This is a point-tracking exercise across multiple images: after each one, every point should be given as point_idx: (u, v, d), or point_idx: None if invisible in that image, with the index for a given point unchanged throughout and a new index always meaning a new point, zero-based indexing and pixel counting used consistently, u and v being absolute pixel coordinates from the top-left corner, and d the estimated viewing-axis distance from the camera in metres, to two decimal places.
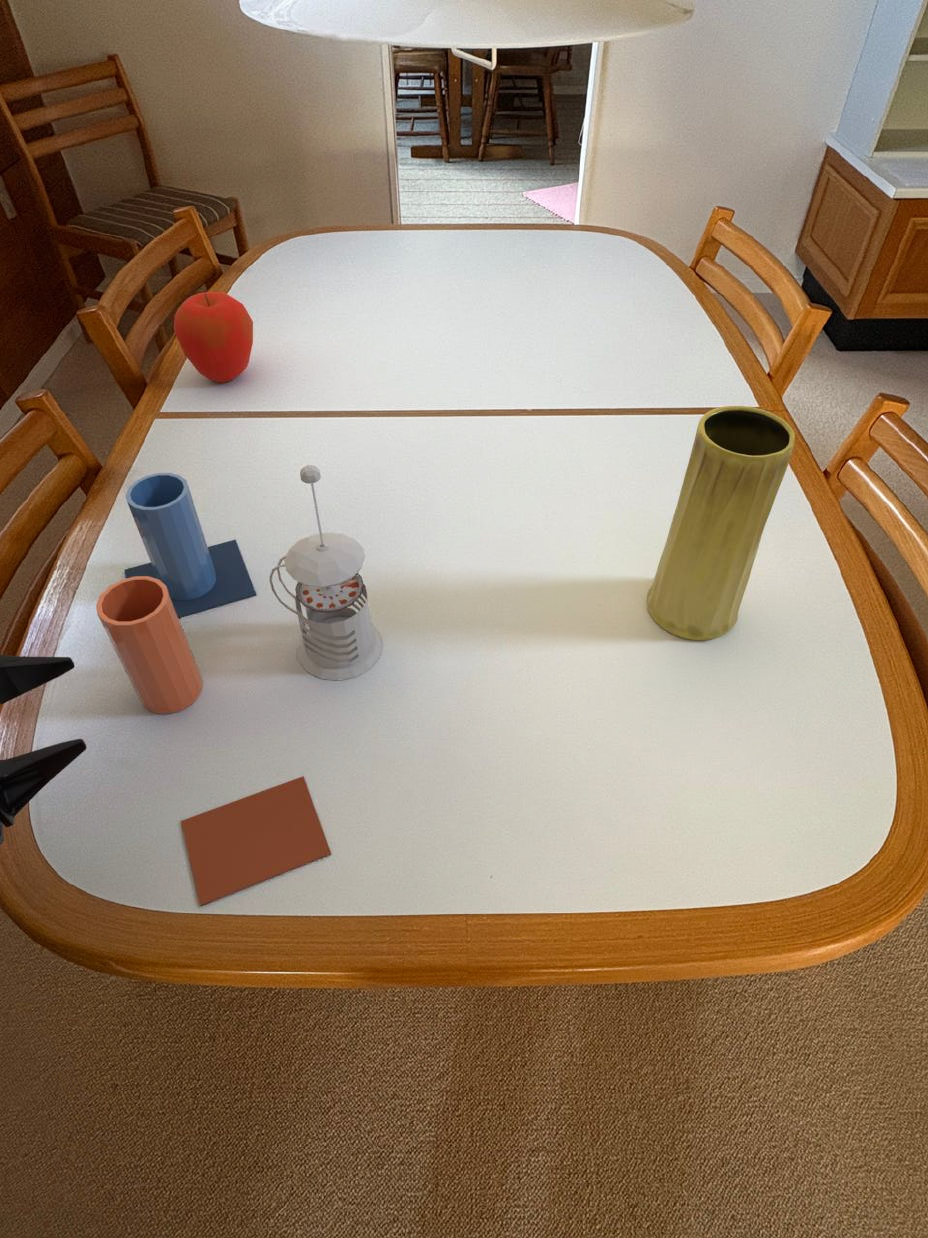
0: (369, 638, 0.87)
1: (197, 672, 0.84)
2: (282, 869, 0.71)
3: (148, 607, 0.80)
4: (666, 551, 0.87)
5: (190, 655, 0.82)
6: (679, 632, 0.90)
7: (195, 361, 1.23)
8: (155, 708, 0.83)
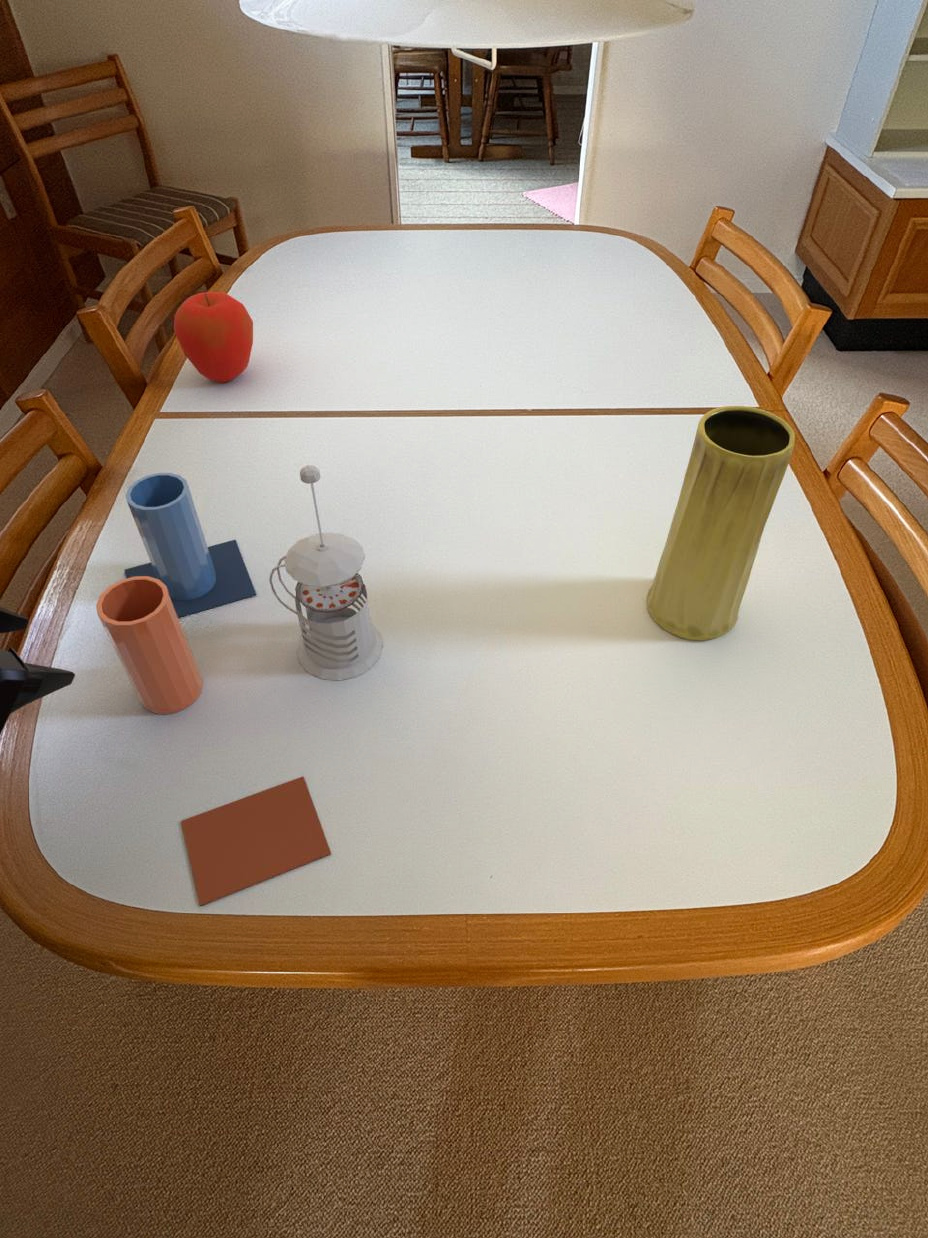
0: (369, 638, 0.87)
1: (197, 672, 0.84)
2: (282, 869, 0.71)
3: (148, 607, 0.80)
4: (666, 551, 0.87)
5: (190, 655, 0.82)
6: (679, 632, 0.90)
7: (195, 361, 1.23)
8: (155, 708, 0.83)
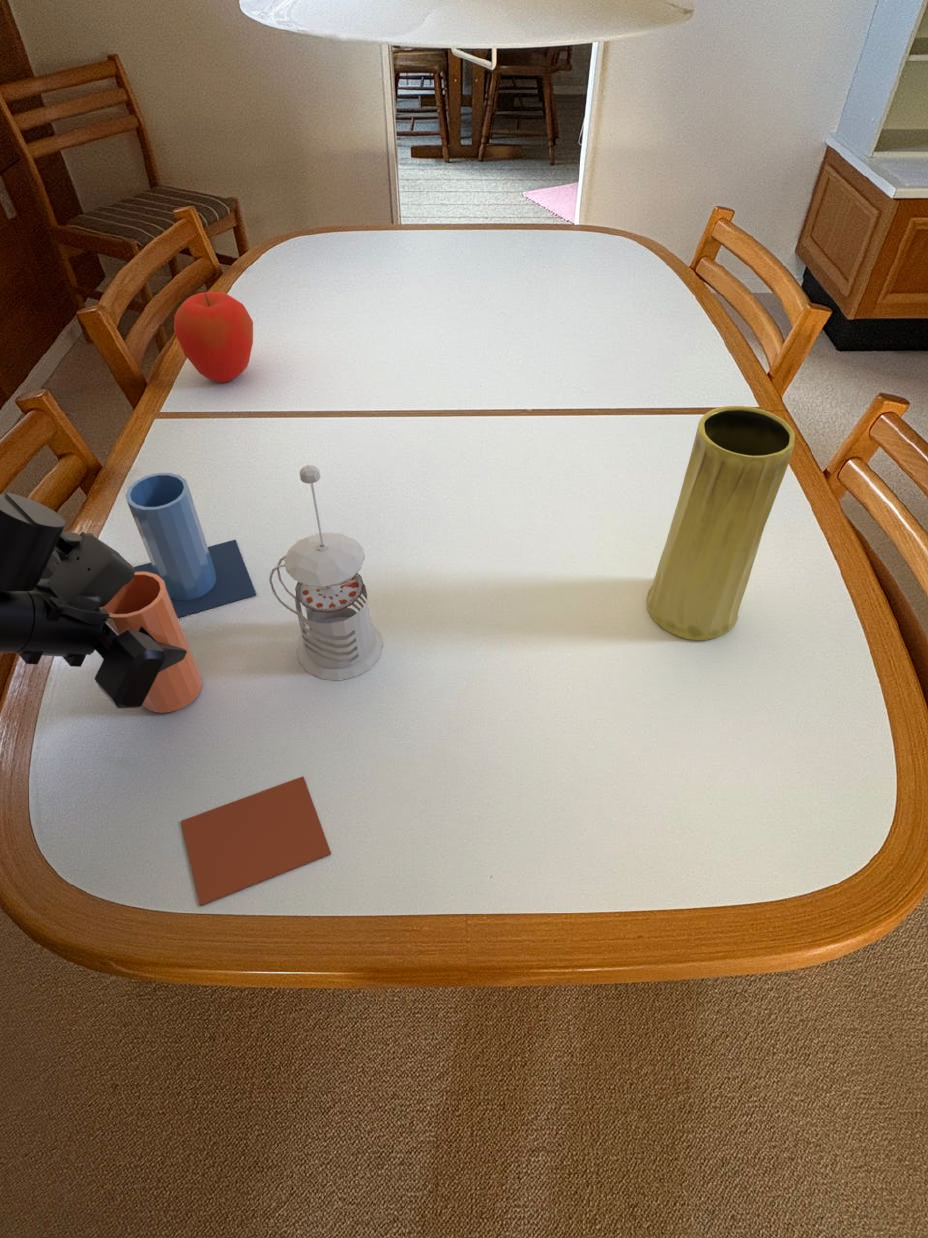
0: (369, 638, 0.87)
1: (196, 671, 0.84)
2: (282, 869, 0.71)
3: (147, 604, 0.80)
4: (666, 551, 0.87)
5: (188, 652, 0.82)
6: (679, 632, 0.90)
7: (195, 361, 1.23)
8: (153, 706, 0.82)
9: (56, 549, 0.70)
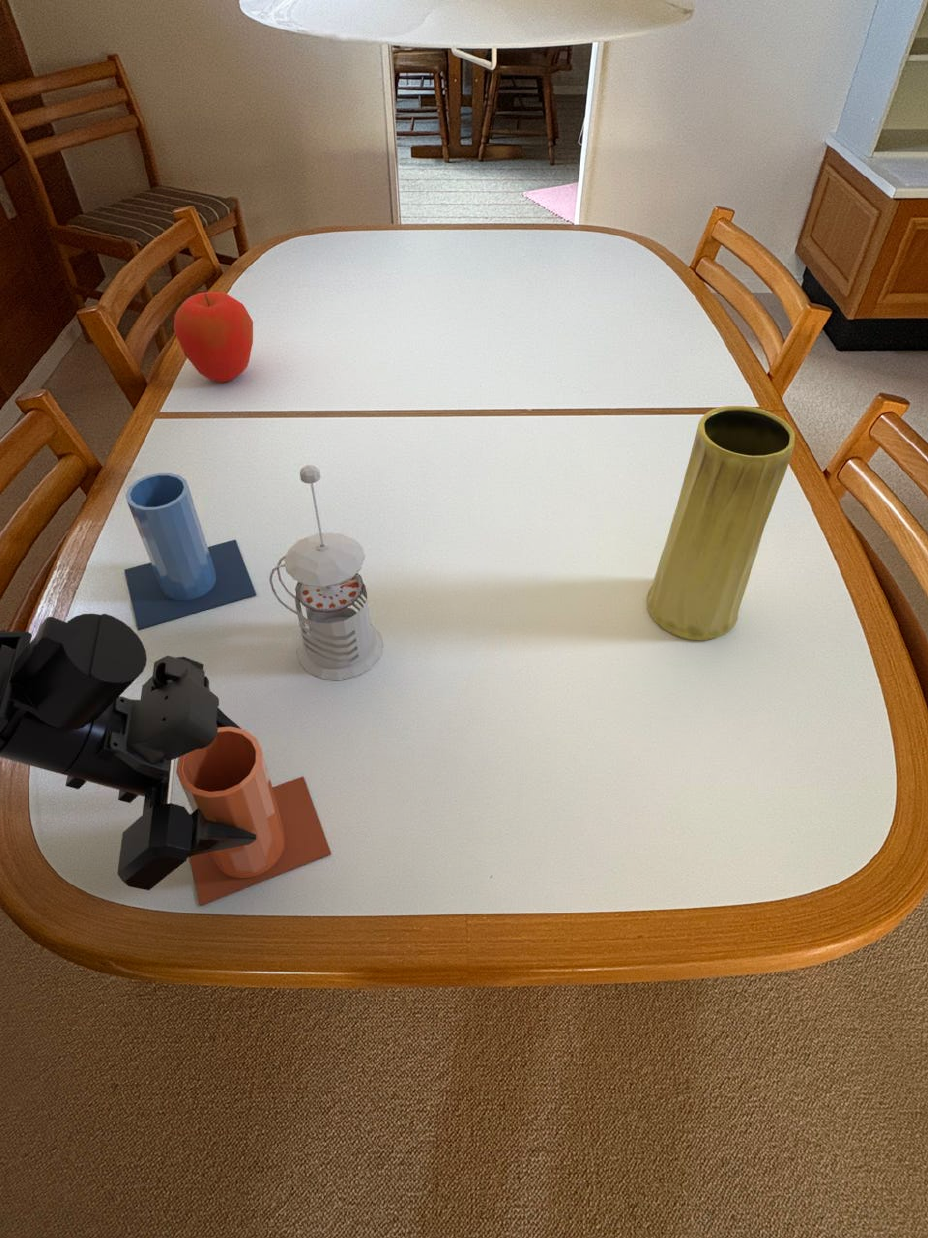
0: (369, 638, 0.87)
1: (273, 849, 0.70)
2: (282, 869, 0.71)
3: (251, 763, 0.67)
4: (666, 551, 0.87)
5: (267, 834, 0.68)
6: (679, 632, 0.90)
7: (195, 361, 1.23)
8: (214, 861, 0.71)
9: (153, 676, 0.59)
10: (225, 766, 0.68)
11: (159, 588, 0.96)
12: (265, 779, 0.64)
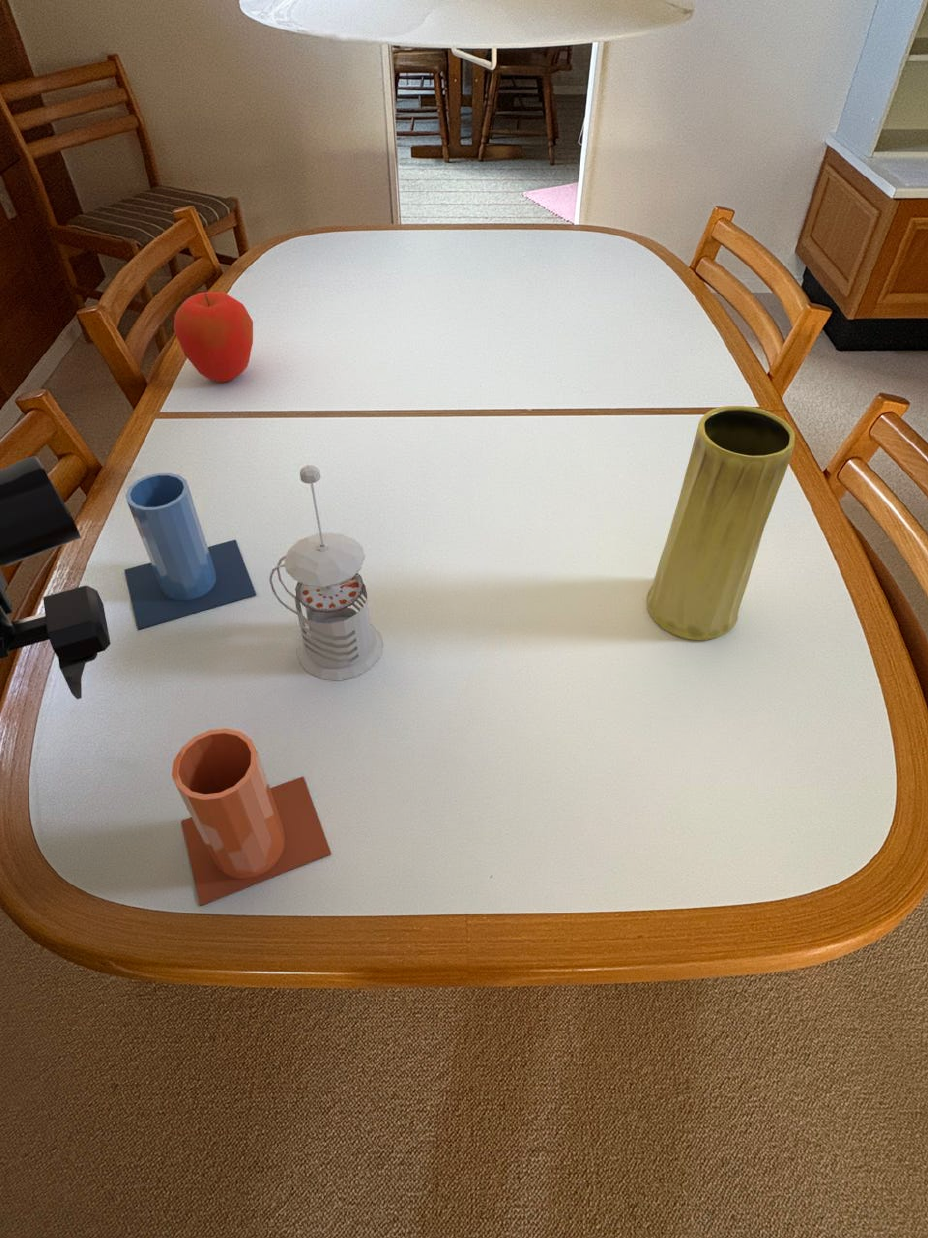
0: (369, 638, 0.87)
1: (272, 850, 0.70)
2: (282, 869, 0.71)
3: (248, 764, 0.67)
4: (666, 551, 0.87)
5: (265, 835, 0.68)
6: (679, 632, 0.90)
7: (195, 361, 1.23)
8: (214, 862, 0.71)
9: None
10: (222, 767, 0.68)
11: (159, 588, 0.96)
12: (261, 780, 0.64)
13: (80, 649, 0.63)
